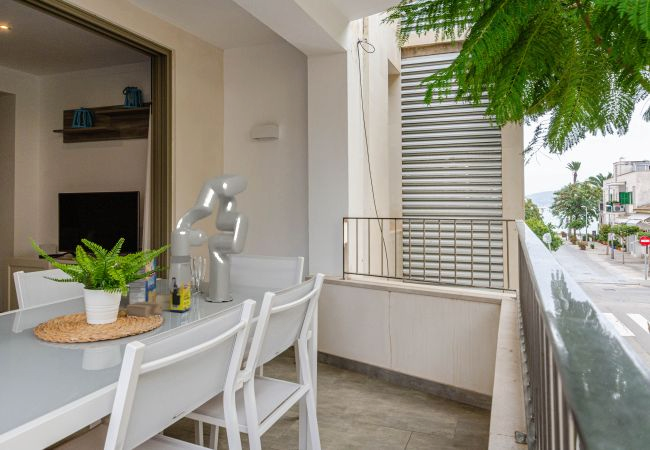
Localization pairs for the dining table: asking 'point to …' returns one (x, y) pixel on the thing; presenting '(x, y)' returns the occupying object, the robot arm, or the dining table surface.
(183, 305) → the supplement box
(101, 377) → the dining table surface
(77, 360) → the dining table surface
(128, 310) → the walnut block
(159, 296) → the oak cube
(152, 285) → the beverage box
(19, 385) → the dining table surface
